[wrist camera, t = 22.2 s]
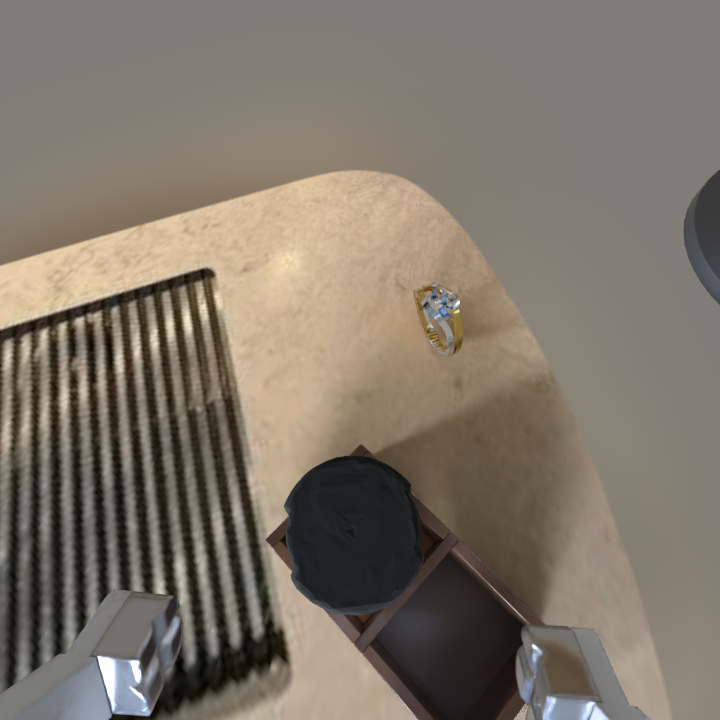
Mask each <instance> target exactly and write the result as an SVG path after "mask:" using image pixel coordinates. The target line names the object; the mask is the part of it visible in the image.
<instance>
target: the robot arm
mask: <svg viewBox="0 0 720 720" xmlns="http://www.w3.org/2000/svg"><path fill="white" fill-rule="evenodd" d="M179 607H180V605H179V601H178V596H171V595H162V594H153V593H144V592H135V591H124V590H113V591H112V592H111V593H110V594H108V595H107V596H106V598H105V599H104V601H103V602H102V603H101V605H100V606H99V608H98V609H97V611H96V612H95V613H94V615H93V616H92V618H91V619H90V621H89V622H88V623H87V625H86V626H85V628H84V629H83V631H82V632H81V633H80V635H79V636H78V638H77V639H76V641H75V642H74V643H73V645H72V646H71V648H70V649H69V651H68V652H67V653H66V654H59V655H57V656H56V657H54V658H53V659H51V660H50V661H48V662H47V663H45V664H44V665H42V666H41V667H40V668H38V669H37V670H35V671H34V672H32V673H31V674H29V675H28V676H26V677H25V678H23V679H22V680H20V681H19V682H17V683H16V684H14V685H13V686H11V687H10V688H9V689H7V690H6V691H4V692H3V693H1V694H0V720H108V719H109V718H110V717H111V716H112V714H111V713H113V714H128V715H143V716H150V714H151V712H152V710H153V707H154V705H155V703H156V701H157V699H158V697H159V695H160V692H161V690H162V688H163V686H164V681H163V676H162V674H163V673H164V672H165V671H166V670H167V669H169V668H170V667H171V666H172V665H173V664H174V662H175V660H176V657H177V655H178V653H179V650H180V646H181V642H182V638H183V623H182V620H181V619H180V618H179V617H178V616H177V615H176V613H177V611H178V609H179ZM520 635H521V639H522V643H523V645H522V646H520V647H519V648H518V649H517V654H516V678H517V685H518V689H519V693H520V697H521V698H522V699H523V700H524V701H525V703H526V704H527V705H528V710H527V714H526V720H650V719H649V718H648V717H647V716H646V715H645V714H644V713H643V712H642V711H641V710H640V709H639V708H638V707H636V706H629V703H628V701H627V699H626V697H625V695H624V692H623V690H622V688H621V686H620V683H619V681H618V679H617V677H616V675H615V672H614V670H613V668H612V666H611V663H610V661H609V659H608V657H607V655H606V652H605V650H604V648H603V646H602V644H601V641H600V639H599V637H598V635H597V633H596V632H595V631H594V630H593V629H585V628H572V627H567V626H552V625H537V624H524V625H523V627H522V630H521V634H520Z"/></svg>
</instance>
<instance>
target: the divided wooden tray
mask: <svg viewBox="0 0 720 720" xmlns="http://www.w3.org/2000/svg"><path fill="white" fill-rule="evenodd" d="M349 456H364V457H370V458H373V459H376V458H375V457H374V456H373V455H372V454H371V453H370V452H369V451H368V450H367V449H366V448H365V447H364V446H363V445H362V444H361V445H359V446H358V447H357V448H356V449H355V450H354V451H353V452H352V453H351V454H350V455H349ZM376 460H377V459H376ZM410 496H411V498H412V500H413V502H414V504H415V506H416V508H417V510H418V514H419V517H420V521H421V527H422V548H421V551H422V552H423V553H424V554H425V556H424V560H423V563H422V566H421V569H420V571H419V573H418V575H417V577H416V578H415V580H414V581H413V583H412V584H411V585H410V587H409V588H408V589H407V591H406V592H405V593H404V594H403V595H402V596H401V597H400V598H398V599H397V600H396V601H395V602H394V603H393V604H391V605H390V606H387V607H385V608H382V609H380V610H378V611H375V612H373V613H369V614H366V615H345V614H338V613H333V612H330V611H327V610H325V609H324V610H325V611H326V613H327V614H328V615H329V616H330V617H331V618H332V620H333V621H334V622H335V623H336V624H337V626H338V627H339V628H340V629H341V630H342V631H343V633H344V634H345V635H346V636H347V637H348V639H349V640H350V641H351V642H352V643H354V646H355V647H356V648H357V649H358V650H359V651H360V653H362V655H363V656H364V657H365V659H366V660H367V661H368V662H369V663H370V664H371V666H372V667H373V668H374V669H375V670H376V671H377V673H378V674H379V675H380V676H381V677H382V679H383V680H384V681H385V682H386V683H387V684H388V686H389V687H390V688H391V689H392V690H393V692H394V693H395V694H396V695H397V696H398V697H399V699H400V700H401V701H402V702H403V703H404V704H405V706H406V707H407V708H408V709H409V710H410V712H411V713H412V714H413V715H414V716H415V717H416V719H417V720H514V718H515V717H516V715H517V714H518V713H519V711H520V710H521V708H522V707H523V706H524V704H525V701H524V700H523V699H522V698H521V697H520V693H519V689H518V685H517V678H516V654H517V649H518V648H519V647H520V646H522V645H523V643H522V639H521V635H520V634H521V630H522V627H523V625H524V624H537V625H546V624H545V623H544V622H543V621H542V620H541V619H539V618H538V617H537V616H536V615H535V614H534V613H533V612H532V611H531V610H530V609H529V608H528V607H527V606H526V605H525V604H524V603H523V602H522V601H521V600H520V599H519V598H518V597H517V596H516V595H515V594H514V593H513V592H512V591H511V590H510V589H509V588H508V587H507V586H506V585H505V584H504V583H503V582H502V581H501V580H500V579H499V578H498V577H497V576H496V575H495V574H494V573H493V572H492V571H490V570H489V569H488V568H487V567H486V566H485V565H484V564H483V563H482V562H481V561H480V560H479V559H478V558H477V557H476V556H475V555H474V554H473V553H472V552H471V551H470V550H469V549H468V548H467V547H466V546H465V545H464V544H463V543H462V542H461V541H460V540H458V538H457V537H456V536H455V535H454V534H453V533H452V532H450V530H449V529H448V528H447V527H446V526H445V525H444V524H443V523H442V522H441V521H440V520H439V519H438V518H436V517H435V516H434V515H433V514H432V513H431V512H430V511H429V510H428V509H427V508H426V507H425V506H424V505H423V504H422V503H421V502H420V501H419V500H418V499H417V498H416V497H415V496H414V495H413V494H412V493H411V492H410ZM287 523H288V518H287V519H286V520H285V521H284V522H283V523H282V524H281V525H280V526H279V527H278V528H277V529H276V530H275V531H274V532H273V533H272V534H271V535H270V536H269V537H268V538H267V539H266V542H267V543H268V544H269V545H270V547H271V548H272V549H273V550H274V551H275V552H276V554H277V555H278V556H279V557H280V558H281V560H282V561H283V562H284V563H285V564H286V565H287V567H288V568H289V569H290V570H291V571H292V572H293V571H294V567H293V564H292V562H291V559H290V557H289V553H288V548H287V543H286V532H287Z"/></svg>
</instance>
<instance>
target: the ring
mask: <svg viewBox="0 0 720 720" xmlns="http://www.w3.org/2000/svg"><path fill="white" fill-rule="evenodd" d="M428 291H432V295H431V297H429V296H426V294H427V292H428ZM413 293H414V299H415V304H416V308H417V311H418V314H419V317H420V320H421V323H422V326H423V328H424V331H425V333H426V335H427V336H426V337H427V340H428V342H429V343H430V344H431V345H432V347H433V348H434V350H435V351H436V352H437V354H438V355H440V356H441V357H444V358H445V357H449V356H452V355H454V354H456V353H458V352H459V350H460V348H461V346H462V342H463V325H462V319H461V315H460V312H459V307H460V301H459V298H458V296H457V295H456V294H455V293H454V292H453V291H451V290H450V289H448V288H446V287H444V286H442V285H440V284H437V283H429V284H427V285H424V286H422V287H421V289H420V288H418V289H416V290H414V291H413ZM437 293H438V294H440V295H442V297H441V298H440V299H438V295H437ZM447 300H449V302H448V303H447ZM451 303H452V306H451ZM429 304H430V305H432V306H433V308H435V309H436V311H435V310H434V309H433V308H432V307H431V306H430V305H429ZM428 313H429V314H430V315H431V316H432V317H433V318H434V319H435V320H436V322H437V323H438V324H439V325H440V326H441V328H442V330H443V331H444V334H445V336H446V341H447V348H446V347H445V346H444V345H443V344H442V343H441V342H440V341H439V339H438V335H437V333H436V331H434V329H433V327H432V324H431V322H430V319H429V316H428ZM444 319H446V320H447V321H449V320H450V319H451V321H452V324H453V330H454V337H453V334H452V331H451V329H450V327H449V326H448V324H447V323H446V321H445V320H444Z"/></svg>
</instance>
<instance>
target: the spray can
mask: <svg viewBox="0 0 720 720" xmlns="http://www.w3.org/2000/svg"><path fill="white" fill-rule="evenodd" d="M410 492H411V485H410V483H409V482H408V481H407V479H406V478H404V477H403V476H402V475H401V474H400V473H398V472H397V471H396V470H395V469H393V468H392V467H390V466H389V465H387V464H385V463H383V462H381V461H379V460H376V459H373V458H370V457H364V456H343V457H338V458H334V459H331V460H328V461H326V462H324V463H322V464H320V465H318V466H316V467H314V468H313V469H311V470H310V471H309V472H308V473H306V474H305V475H304V476H303V477H302V478H301V480H300V481H299V482H298V483H297V484H296V485H295V487H294V488H293V490H292V491H291V493H290V495H289V496H288V498H287V500H286V503H285V505H284V507H285V510H286V511H287V513H288V515H289V517H288V523H287V532H286V543H287V548H288V553H289V557H290V559H291V562H292V564H293V567H294V571H293V572H292V574H291V579H292V581H293V583H294V585H295V586H296V588H297V589H298V590H299V591H300V592H301V593H302V594H303V595H304V596H305V597H306V598H308V599H309V600H310V601H311V602H312V603H314V604H316V605H318V606H319V607H321V608H323V609H325V610H327V611H330V612H333V613H338V614H345V615H366V614H369V613H373V612H375V611H378V610H380V609H382V608H385V607H387V606H390V605H391V604H393V603H394V602H395V601H396V600H397V599H398V598H400V597H401V596H402V595H403V594H404V593H405V592H406V591H407V589H408V588H409V587H410V585H411V584H412V583H413V581H414V580H415V578H416V577H417V575H418V573H419V571H420V569H421V566H422V563H423V560H424V556H425V554H424V553H423V552H422V551H421V548H422V527H421V521H420V517H419V514H418V510H417V508H416V506H415V504H414V502H413V500H412V498H411V496H410Z"/></svg>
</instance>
